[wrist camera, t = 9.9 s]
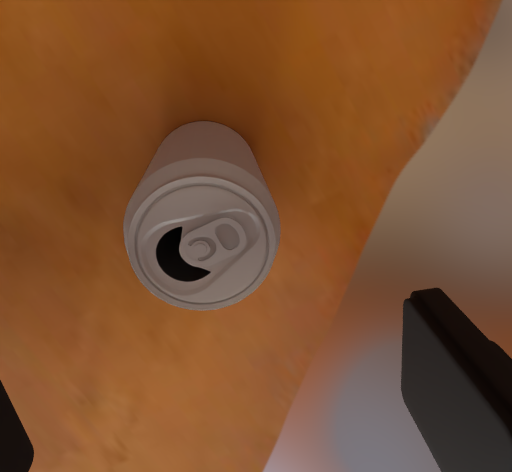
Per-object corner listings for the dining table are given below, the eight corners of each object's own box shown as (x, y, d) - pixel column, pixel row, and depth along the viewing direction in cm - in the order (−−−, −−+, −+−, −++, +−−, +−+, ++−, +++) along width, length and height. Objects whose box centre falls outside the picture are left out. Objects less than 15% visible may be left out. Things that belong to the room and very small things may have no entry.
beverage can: (135, 149, 26) (78, 218, 15) (226, 99, 25) (239, 134, 14) (187, 232, 28) (172, 343, 17) (271, 189, 28) (311, 277, 17)
